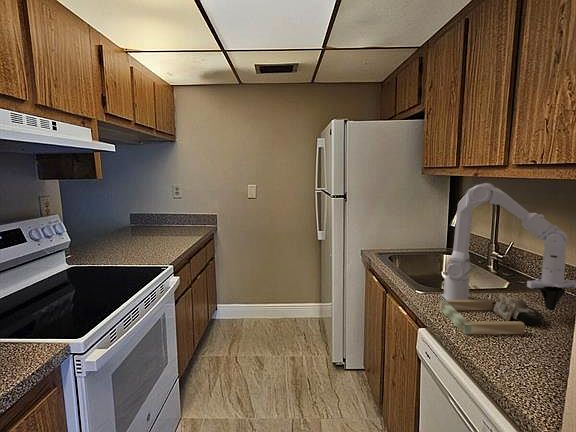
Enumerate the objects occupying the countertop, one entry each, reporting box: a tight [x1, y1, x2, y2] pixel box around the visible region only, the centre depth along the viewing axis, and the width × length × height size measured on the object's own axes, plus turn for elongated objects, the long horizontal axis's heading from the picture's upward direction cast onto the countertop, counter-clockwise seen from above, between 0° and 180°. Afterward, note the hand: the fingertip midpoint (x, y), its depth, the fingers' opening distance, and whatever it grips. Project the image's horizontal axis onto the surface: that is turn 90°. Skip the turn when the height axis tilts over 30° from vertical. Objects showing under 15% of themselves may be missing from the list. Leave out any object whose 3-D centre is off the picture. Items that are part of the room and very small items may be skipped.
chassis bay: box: [438, 299, 526, 335], centre depth 117 cm, size 20×18×3 cm
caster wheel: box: [492, 293, 544, 327], centre depth 117 cm, size 7×11×10 cm
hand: (550, 309), depth 116 cm, fingers closed
